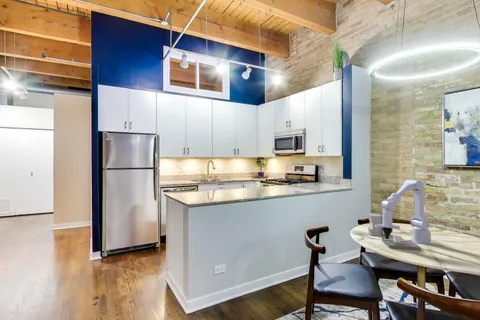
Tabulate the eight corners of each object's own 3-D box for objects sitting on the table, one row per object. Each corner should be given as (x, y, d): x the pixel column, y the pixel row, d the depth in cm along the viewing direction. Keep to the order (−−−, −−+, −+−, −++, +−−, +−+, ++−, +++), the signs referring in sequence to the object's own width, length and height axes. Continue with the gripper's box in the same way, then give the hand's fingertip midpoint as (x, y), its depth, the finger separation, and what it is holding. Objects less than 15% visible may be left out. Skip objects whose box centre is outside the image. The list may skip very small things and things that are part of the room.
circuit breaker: (392, 236, 188) (392, 216, 188) (371, 235, 191) (371, 215, 191) (388, 233, 196) (388, 214, 195) (368, 232, 198) (368, 213, 198)
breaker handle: (398, 241, 171) (398, 234, 171) (400, 242, 168) (400, 235, 168) (393, 241, 172) (393, 234, 172) (395, 242, 169) (395, 235, 169)
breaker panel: (410, 243, 175) (410, 239, 175) (420, 250, 161) (420, 246, 161) (382, 241, 178) (382, 237, 178) (389, 248, 165) (389, 243, 165)
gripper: (377, 219, 169) (377, 239, 169) (401, 220, 166) (401, 241, 166) (374, 216, 176) (373, 236, 176) (397, 218, 173) (397, 238, 173)
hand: (387, 238), depth 171 cm, fingers closed
